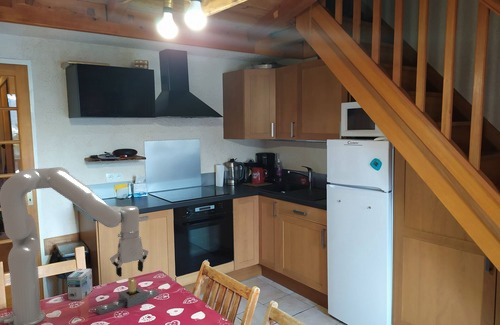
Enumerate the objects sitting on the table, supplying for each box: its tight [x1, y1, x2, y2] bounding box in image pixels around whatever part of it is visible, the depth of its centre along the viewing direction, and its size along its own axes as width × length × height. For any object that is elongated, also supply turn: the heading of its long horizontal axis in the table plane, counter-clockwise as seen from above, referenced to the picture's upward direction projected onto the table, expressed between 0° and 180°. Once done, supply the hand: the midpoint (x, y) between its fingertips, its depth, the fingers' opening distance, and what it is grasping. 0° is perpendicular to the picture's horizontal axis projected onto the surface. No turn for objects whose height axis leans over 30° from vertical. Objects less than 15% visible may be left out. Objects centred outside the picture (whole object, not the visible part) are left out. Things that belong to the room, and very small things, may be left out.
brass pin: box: [127, 277, 137, 296], centre depth 164 cm, size 3×3×10 cm
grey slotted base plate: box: [95, 286, 160, 316], centre depth 163 cm, size 27×9×4 cm, turn 133°
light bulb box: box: [66, 268, 93, 301], centre depth 172 cm, size 11×7×11 cm, turn 179°
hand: (129, 273), depth 163 cm, fingers open, 9 cm apart
